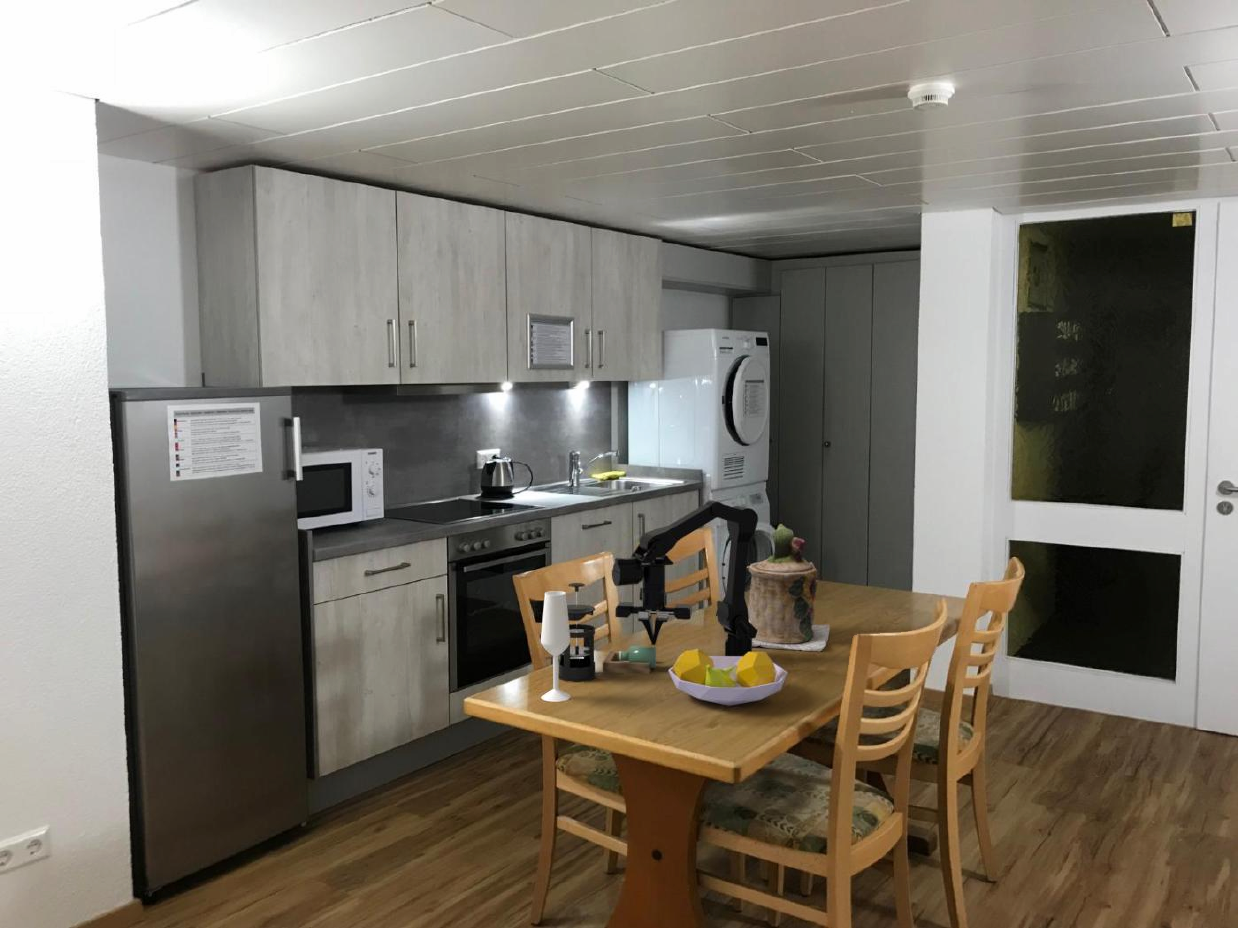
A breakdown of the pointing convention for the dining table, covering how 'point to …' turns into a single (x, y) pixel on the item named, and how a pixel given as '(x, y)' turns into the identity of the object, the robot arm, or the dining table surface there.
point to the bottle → (640, 655)
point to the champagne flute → (555, 637)
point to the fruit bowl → (727, 676)
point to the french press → (578, 666)
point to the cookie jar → (785, 598)
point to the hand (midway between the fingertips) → (653, 644)
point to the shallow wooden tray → (623, 665)
